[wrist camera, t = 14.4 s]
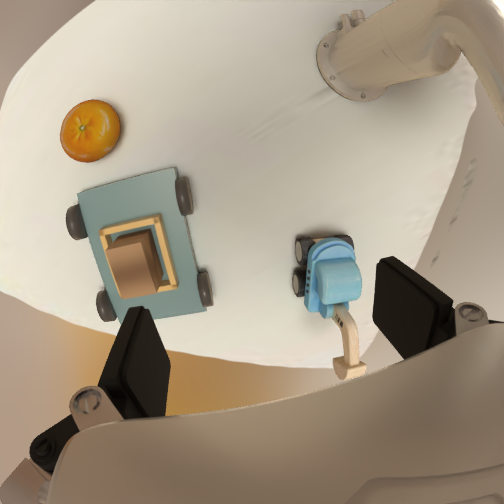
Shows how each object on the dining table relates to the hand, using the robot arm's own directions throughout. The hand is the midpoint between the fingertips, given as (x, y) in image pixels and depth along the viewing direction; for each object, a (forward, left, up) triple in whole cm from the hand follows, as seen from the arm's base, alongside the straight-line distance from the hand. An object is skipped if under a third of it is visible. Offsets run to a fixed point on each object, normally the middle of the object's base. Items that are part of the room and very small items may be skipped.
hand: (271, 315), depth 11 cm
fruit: (-13, -17, -31) cm, 37 cm away
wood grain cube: (+6, -14, -28) cm, 32 cm away
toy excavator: (+16, +12, -31) cm, 37 cm away
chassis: (+6, -14, -30) cm, 34 cm away
